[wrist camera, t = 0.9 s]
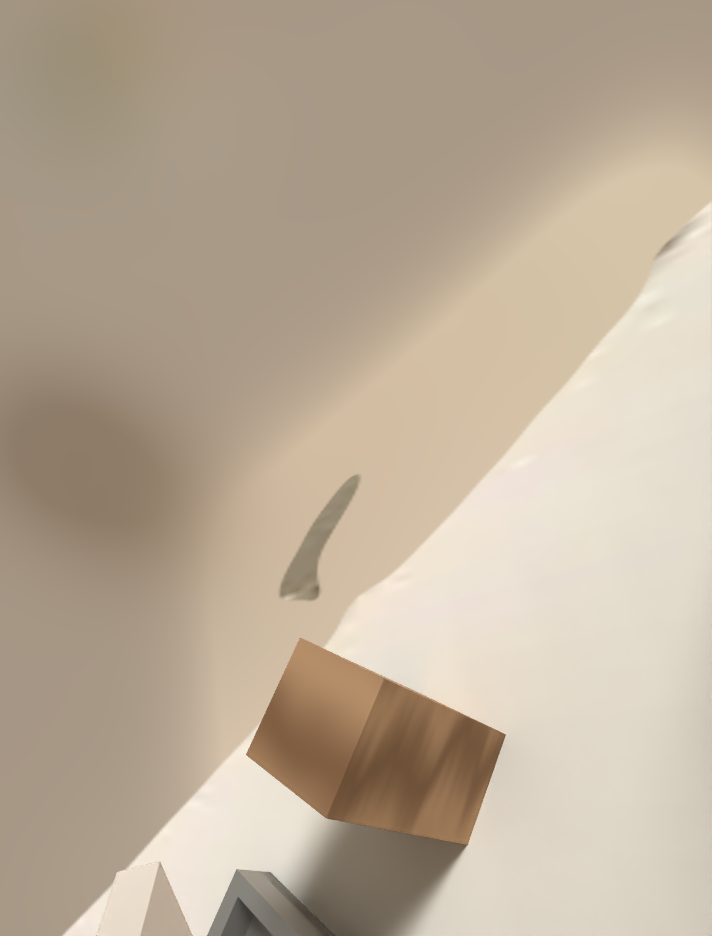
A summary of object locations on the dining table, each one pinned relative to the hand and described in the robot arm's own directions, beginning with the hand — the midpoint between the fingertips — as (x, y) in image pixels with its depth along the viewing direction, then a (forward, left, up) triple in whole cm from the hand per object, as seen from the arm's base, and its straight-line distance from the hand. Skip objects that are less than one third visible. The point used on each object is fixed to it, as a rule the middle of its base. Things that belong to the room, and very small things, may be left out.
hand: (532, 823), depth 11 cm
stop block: (+2, -15, -22) cm, 27 cm away
